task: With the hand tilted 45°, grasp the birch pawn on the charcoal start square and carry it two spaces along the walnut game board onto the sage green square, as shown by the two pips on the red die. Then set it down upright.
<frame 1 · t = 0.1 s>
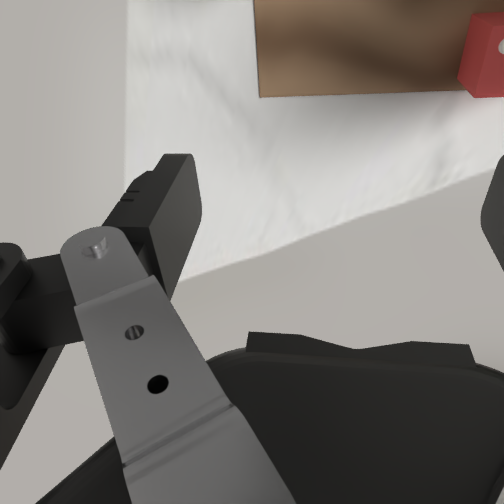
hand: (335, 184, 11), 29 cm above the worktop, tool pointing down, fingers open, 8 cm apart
red die: (495, 46, 34), resting on game board
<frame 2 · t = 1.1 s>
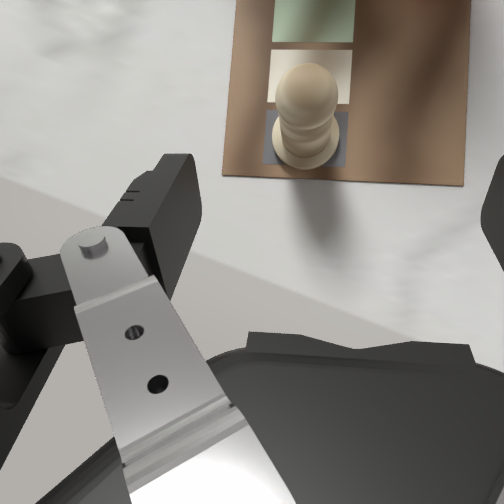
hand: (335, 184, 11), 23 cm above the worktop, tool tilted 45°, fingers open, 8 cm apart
birch pawn: (305, 138, 35), resting on game board
game board: (346, 52, 35), on the worktop
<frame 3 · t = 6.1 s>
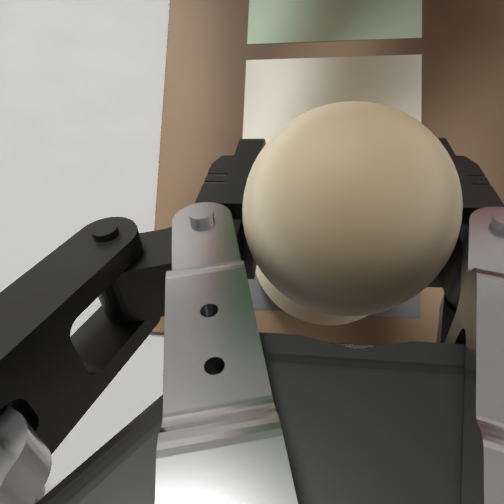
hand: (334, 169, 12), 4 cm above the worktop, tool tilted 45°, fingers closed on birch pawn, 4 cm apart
birch pawn: (326, 250, 16), resting on game board, touching gripper
game board: (407, 60, 16), on the worktop
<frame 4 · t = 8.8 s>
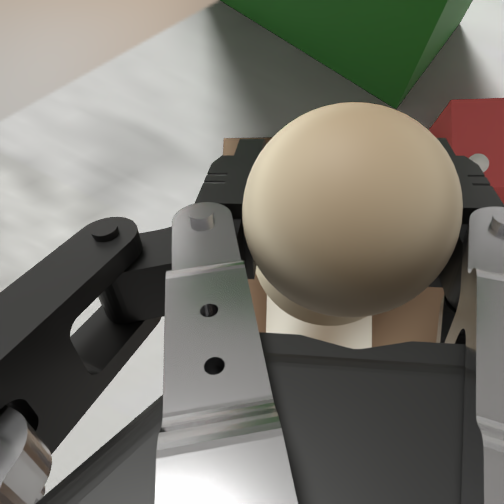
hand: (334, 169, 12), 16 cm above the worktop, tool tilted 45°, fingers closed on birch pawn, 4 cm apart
birch pawn: (326, 251, 16), point 12 cm above the worktop, touching gripper
red die: (465, 169, 27), resting on game board
game board: (363, 298, 27), on the worktop
hardback book: (323, 6, 30), on the worktop
when the fingers open (5 cm above the worktop, at t = 11.8 s): birch pawn drops 1 cm, resting on game board.
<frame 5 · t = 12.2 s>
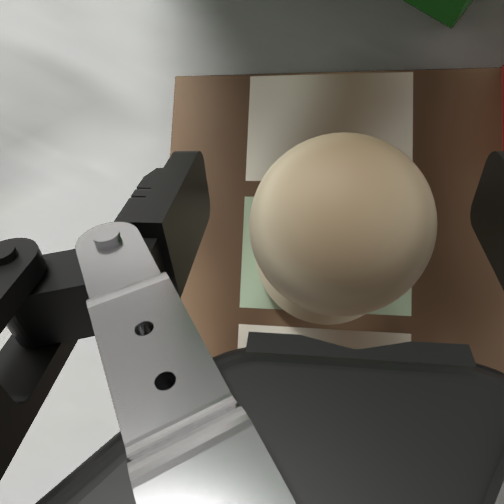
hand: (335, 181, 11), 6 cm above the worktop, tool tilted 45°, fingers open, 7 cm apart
birch pawn: (324, 255, 17), resting on game board
game board: (397, 336, 16), on the worktop
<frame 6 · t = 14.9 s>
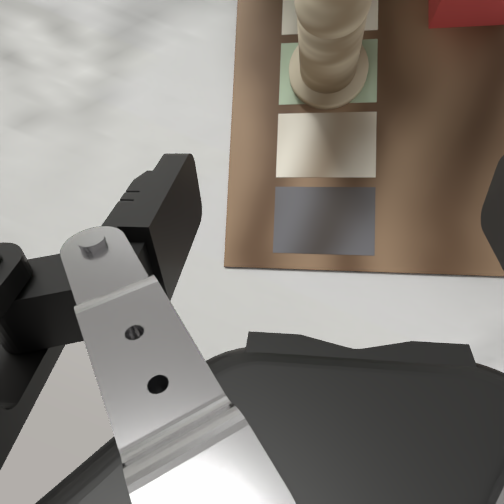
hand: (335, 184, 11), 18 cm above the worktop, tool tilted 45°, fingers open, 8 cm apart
birch pawn: (327, 72, 30), resting on game board
game board: (369, 114, 29), on the worktop
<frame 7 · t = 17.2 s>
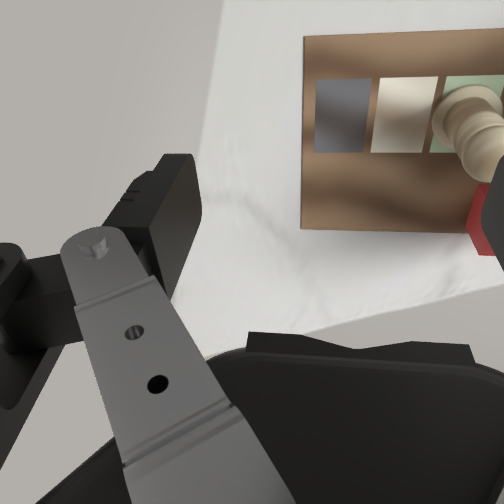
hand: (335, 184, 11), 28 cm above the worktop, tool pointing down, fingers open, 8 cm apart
birch pawn: (464, 116, 36), resting on game board
red die: (497, 206, 42), resting on game board
game board: (420, 147, 39), on the worktop
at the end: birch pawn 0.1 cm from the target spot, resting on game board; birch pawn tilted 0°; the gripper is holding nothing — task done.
